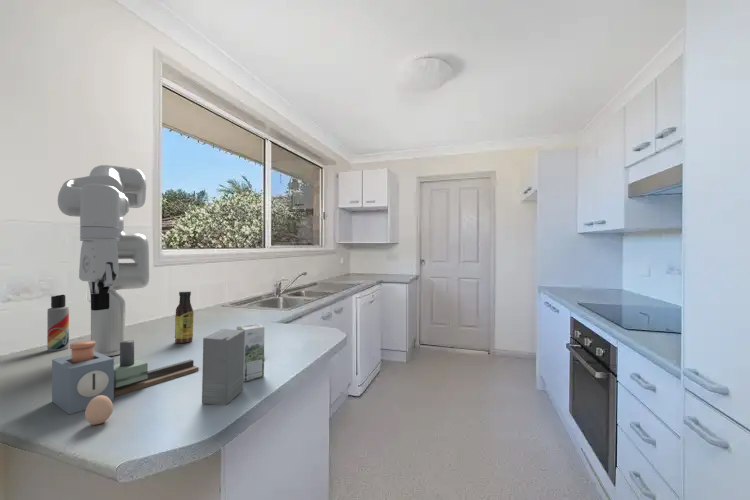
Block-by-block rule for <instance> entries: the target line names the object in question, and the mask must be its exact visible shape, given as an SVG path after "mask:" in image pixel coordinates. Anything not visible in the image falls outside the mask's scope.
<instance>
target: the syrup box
mask: <svg viewBox="0 0 750 500" xmlns="http://www.w3.org/2000/svg"><path fill="white" fill-rule="evenodd" d="M236 330H243V331H245V338H244V371H243V383H244V382H249V381H252V380H256V379H260V378H263V377H264V376H265V326H263V325H262V324H260V323H251V324H245V325H238V326H236Z"/></svg>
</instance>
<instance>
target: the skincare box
mask: <svg viewBox="0 0 750 500" xmlns="http://www.w3.org/2000/svg"><path fill="white" fill-rule="evenodd" d="M244 338H245V331H243V330H237V329H229V328H228V329H227V328H222V329H220V330H217V331H216V332H213V333H212V334H209V335H207V336H205V337H203V338H202V339H203V340H202V379H201V381H202V383H201V403H202V404H203V405H204V404H205V405H215V406H216V405H219V406H227V405H229V403H230V402H231V401H233V400H235V398H236V397H237V396H238V395H240V393H241V392H243V391H244V381H243V371H244Z"/></svg>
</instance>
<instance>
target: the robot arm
mask: <svg viewBox="0 0 750 500" xmlns="http://www.w3.org/2000/svg"><path fill="white" fill-rule="evenodd" d="M146 195H147V179H146V176H145V174H144V173H143V172H142V171H141V170H140V169H138V168H134V167H126V166H125V167H124V166H117V165H107V164H105V165H103V164H102V165H97V166H95V167H93V168H92V169H91V170H90V173H89V175H87V176H82V177H76V178H70V179H68V180H66V181H64V182H63V184H62V186H60V190H58V195H57V206H58V208H59V211H60V212H61V213H62V214H63V215H66V216H69V217H78V218H79V241H80V242H82V243H81V248H80V255H79V269H78V271H79V273H78V275H79V276H78V279H79V280H80V281H82V282H88V288H89V294H90V341H96V345H95V346H94V351H96V352H98V353H101V354H103V355H106V356H108V357H113V356H117V355H119V356H120V342H123V341H126V301H125V299H124V297H123V296H122V295H120V294H119V293H118V292H117V291H119V290H131V289H132V290H134V289H142V288H143V289H144V288H146V287H147V286H148V285H149V282H150V247H149V241H148V238H147V237H146V235H144V234H142V233H131V232H129V233H128V232H125V230H124V225H125V224H124V223H125V221H124V219H123V217H125V216H126V215H127V214H128V212H129V211H130V208H131V209H139V208H141V207H143V206H144V205H145V202H146V197H147V196H146ZM119 260H132V261H134V262H119Z"/></svg>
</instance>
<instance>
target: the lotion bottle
mask: <svg viewBox="0 0 750 500" xmlns="http://www.w3.org/2000/svg"><path fill="white" fill-rule="evenodd" d="M46 319H47V327H46V329H47V336H46V339H47V342H46V343H47V344H46V346H47V351H48V352H58V351H64V350H67V349H69V348H70V344H69V343H70V321H69V320H70V308H69V306H66V294H59V295H58V294H57V295H52V296H51V297H50V308H47V318H46Z"/></svg>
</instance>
